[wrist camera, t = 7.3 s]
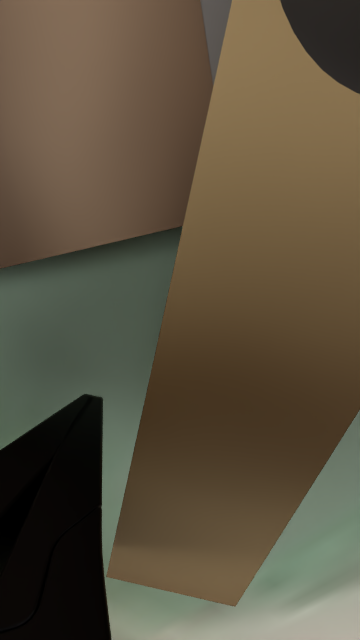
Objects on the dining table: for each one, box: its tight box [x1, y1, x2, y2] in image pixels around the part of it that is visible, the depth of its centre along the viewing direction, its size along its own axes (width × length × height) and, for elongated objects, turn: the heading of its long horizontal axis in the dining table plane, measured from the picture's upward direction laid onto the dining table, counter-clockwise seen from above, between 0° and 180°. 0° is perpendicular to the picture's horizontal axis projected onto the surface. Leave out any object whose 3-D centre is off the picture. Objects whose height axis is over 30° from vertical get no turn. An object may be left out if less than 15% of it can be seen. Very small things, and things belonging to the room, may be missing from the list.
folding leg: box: [106, 0, 360, 606], centre depth 6 cm, size 13×3×3 cm, turn 167°
